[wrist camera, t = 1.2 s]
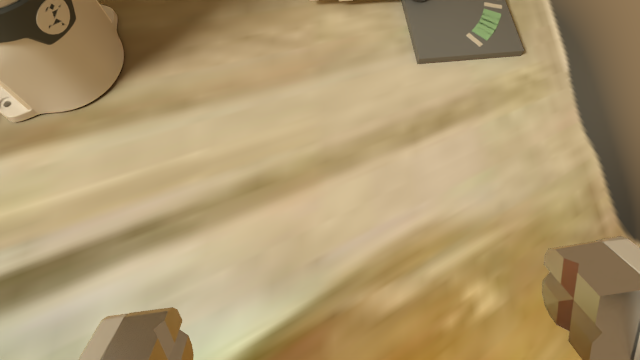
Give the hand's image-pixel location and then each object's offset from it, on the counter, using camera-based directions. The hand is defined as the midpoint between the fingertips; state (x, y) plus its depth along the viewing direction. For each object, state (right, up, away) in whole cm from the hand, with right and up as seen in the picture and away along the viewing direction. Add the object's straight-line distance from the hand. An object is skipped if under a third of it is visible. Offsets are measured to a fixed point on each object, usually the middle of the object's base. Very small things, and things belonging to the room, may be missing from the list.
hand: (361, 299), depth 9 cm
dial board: (+18, +25, +48) cm, 57 cm away
